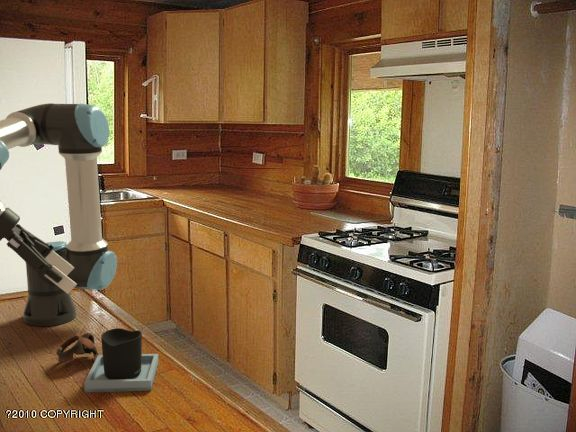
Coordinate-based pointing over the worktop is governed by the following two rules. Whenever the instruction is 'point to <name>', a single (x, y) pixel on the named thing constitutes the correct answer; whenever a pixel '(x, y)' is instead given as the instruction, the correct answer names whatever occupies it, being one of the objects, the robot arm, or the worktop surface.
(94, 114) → the robot arm
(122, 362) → the pen holder
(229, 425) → the worktop surface
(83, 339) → the brown hollow rounded piece
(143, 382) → the tray
